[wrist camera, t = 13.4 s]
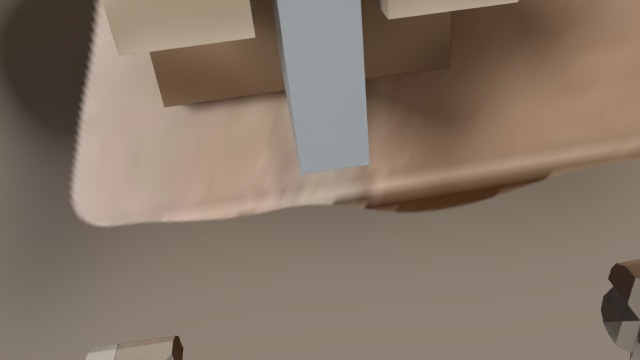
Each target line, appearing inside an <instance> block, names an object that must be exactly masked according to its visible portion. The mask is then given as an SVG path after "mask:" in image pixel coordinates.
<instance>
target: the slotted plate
mask: <svg viewBox="0 0 640 360" xmlns="http://www.w3.org/2000/svg"><path fill="white" fill-rule="evenodd" d="M272 4H273V11H274V18H275V25H276V32H277V40H278V47H279V54H280V61H281V68H282V75H283V81H284V86H285V91H286V97H287V102H288V107H289V113H290V118H291V124H292V129H293V134H294V140H295V145H296V150H297V156H298V161H299V166H300V172H301V175H303V174H309V173H316V172H323V171H330V170H336V169H343V168H350V167H356V166H363V165H370V162H369V143H368V125H367V107H366V89H365V71H364V52H363V34H362V16H361V0H272Z"/></svg>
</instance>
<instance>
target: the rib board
mask: <svg viewBox="0 0 640 360" xmlns="http://www.w3.org/2000/svg"><path fill="white" fill-rule="evenodd" d="M102 2H103V5H104V8H105V12H106V15H107V18H108V22H109V25H110V28H111V32H112V35H113V38H114V41H115V45H116V48H117V51H118V55H119V56H122V55H129V54H137V53H144V52H150V56H151V59H152V63H153V67H154V70H155V74H156V78H157V82H158V85H159V89H160V93H161V96H162V100H163V104H164V107H171V106H178V105H185V104H192V103H199V102H206V101H214V100H221V99H228V98H235V97H242V96H249V95H256V94H263V93H271V92H278V91H285V86H284V81H283V75H282V68H281V61H280V54H279V47H278V40H277V32H276V25H275V18H274V11H273V4H272V0H102ZM515 2H518V0H361V16H362V34H363V52H364V71H365V79H370V78H377V77H385V76H392V75H399V74H406V73H413V72H420V71H427V70H434V69H442V68H449V67H450V52H451V22H452V11H456V10H463V9H470V8H478V7H485V6H493V5H500V4H508V3H515Z"/></svg>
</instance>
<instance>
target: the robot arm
mask: <svg viewBox="0 0 640 360" xmlns="http://www.w3.org/2000/svg"><path fill="white" fill-rule="evenodd" d="M608 279H609V281H610V282H611V283H612V285H613V287H612V288H611V289H610V290H609V291H608V292H607V293H606V294H605V295H604V296H603V301H602V306H601V312H602V317H603V323H604V325H605V328H606V330H607V332H608V334H609V336H610V337H611V339H612V340H613V342H614V343H615V345H617V346H619V347H620V348H622V349H624V350H626V351H628V352H629V353H631V354H630V360H640V260H634V261H628V262H622V263H616V264H615V265H614V266H613V267H612V268H611V271H610V274H609V277H608ZM182 359H183V346H182V343H181V341H180V338H179V336H168V337H161V338H154V339H147V340H139V341H131V342H124V343H120V344H113V345H105V346H99V347H93V348H92V349H91V350H90V352H89V353H88V355H87V357H86V360H182Z"/></svg>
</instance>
